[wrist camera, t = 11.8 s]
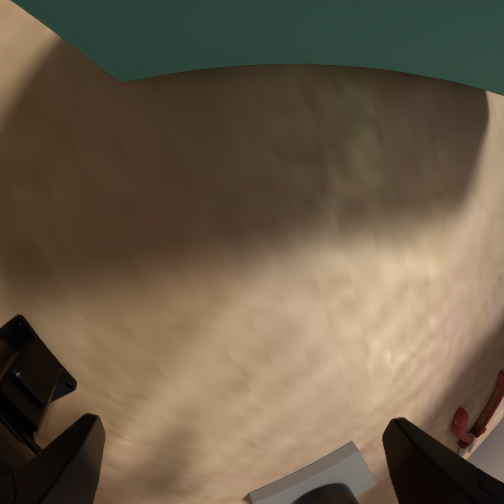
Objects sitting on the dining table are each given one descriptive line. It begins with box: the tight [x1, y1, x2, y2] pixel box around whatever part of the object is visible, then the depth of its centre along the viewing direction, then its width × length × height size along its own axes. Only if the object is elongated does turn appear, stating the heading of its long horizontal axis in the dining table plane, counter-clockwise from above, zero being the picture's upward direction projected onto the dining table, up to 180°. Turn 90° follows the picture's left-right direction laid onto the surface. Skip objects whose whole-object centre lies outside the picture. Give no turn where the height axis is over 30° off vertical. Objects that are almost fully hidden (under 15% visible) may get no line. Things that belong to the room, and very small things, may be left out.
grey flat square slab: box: [249, 441, 377, 504], centre depth 27 cm, size 12×12×2 cm
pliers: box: [452, 371, 504, 457], centre depth 34 cm, size 12×20×3 cm, turn 19°
